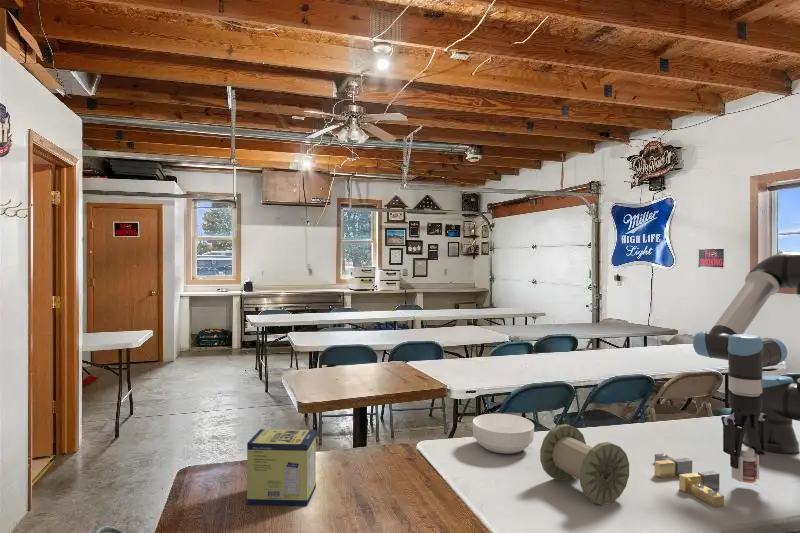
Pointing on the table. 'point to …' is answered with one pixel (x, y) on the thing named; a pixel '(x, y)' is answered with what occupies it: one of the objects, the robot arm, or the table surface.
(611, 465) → the spool
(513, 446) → the bowl
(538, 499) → the table surface
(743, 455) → the pill bottle
